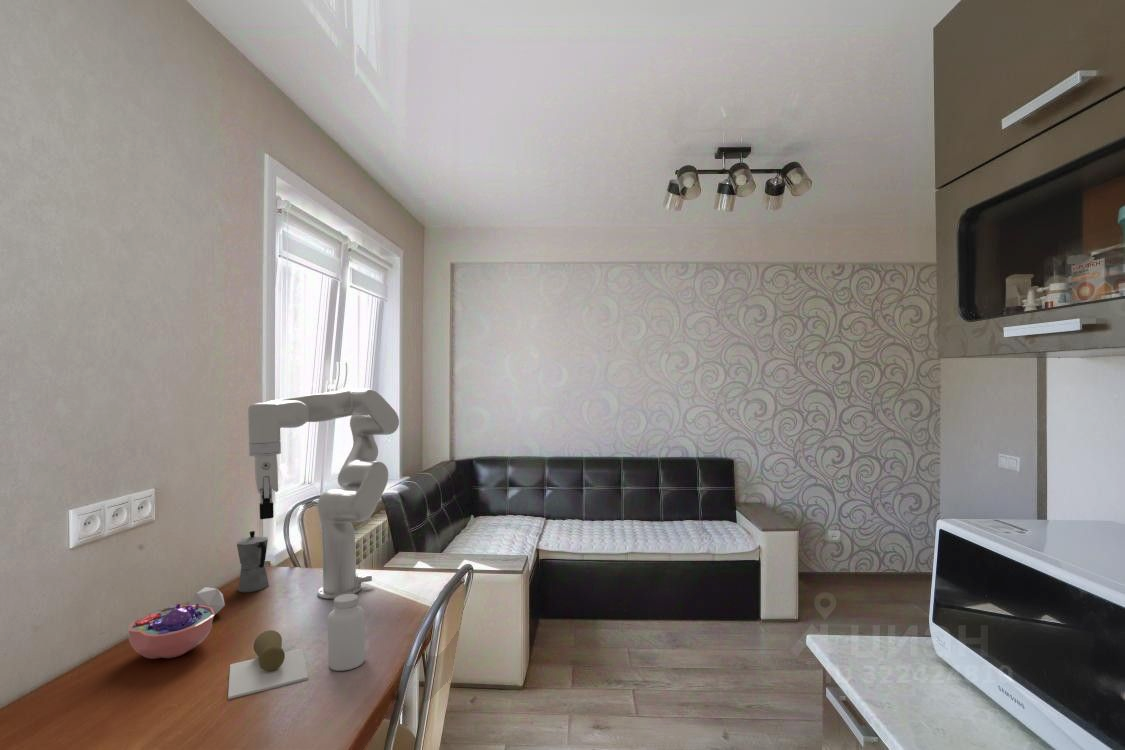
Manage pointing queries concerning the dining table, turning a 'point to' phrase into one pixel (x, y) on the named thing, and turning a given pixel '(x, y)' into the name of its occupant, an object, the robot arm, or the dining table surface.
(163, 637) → the cell model
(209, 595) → the die
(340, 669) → the pill bottle
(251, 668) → the mat
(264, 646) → the cork
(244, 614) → the dining table surface
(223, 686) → the dining table surface
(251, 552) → the coffeepot
